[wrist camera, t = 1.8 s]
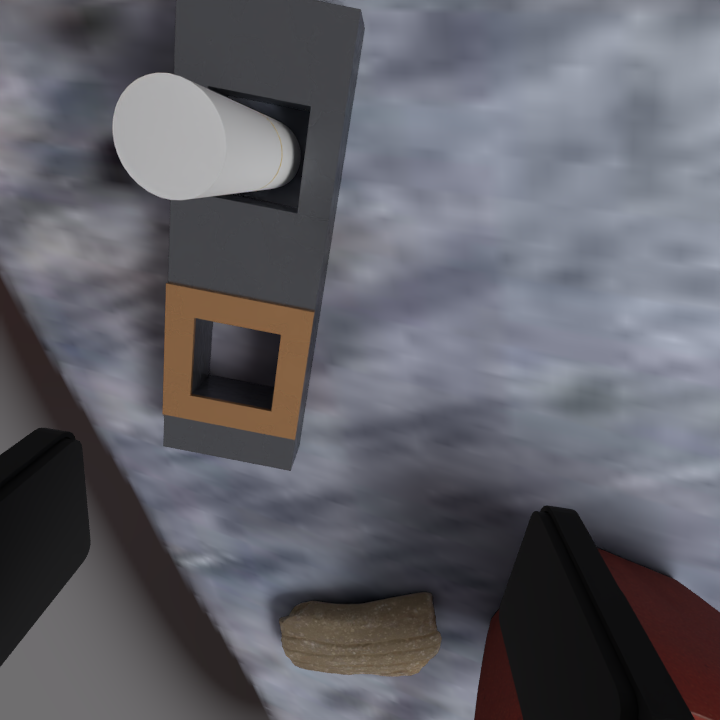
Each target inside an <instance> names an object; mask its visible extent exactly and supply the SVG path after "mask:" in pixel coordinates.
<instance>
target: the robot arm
mask: <svg viewBox="0 0 720 720" xmlns="http://www.w3.org/2000/svg"><path fill="white" fill-rule="evenodd" d="M89 549H90V530H89V519H88V508H87V497H86V486H85V474H84V463H83V452H82V445H81V443H80V441H78V440H75V436H74V435H73V434H72V433H71V432H67V431H61V430H55V429H48V428H38V429H37V430H34V431H33V432H32V433H30V434H29V435H27V436H26V437H25V438H23V439H22V440H21V441H19V442H18V443H16V444H15V445H14V446H13V447H11V448H10V449H8V450H7V451H5V452H4V453H2V454H1V455H0V666H1V665H2V664H3V662H4V661H5V660H6V659H7V658H8V656H9V655H10V654H11V653H12V651H13V650H14V649H15V648H16V646H17V645H18V643H19V642H20V641H21V640H22V639H23V637H24V636H25V635H26V634H27V632H28V631H29V630H30V628H31V627H32V626H33V625H34V623H35V622H36V621H37V620H38V618H39V617H40V616H41V615H42V613H43V612H44V611H45V610H46V608H47V607H48V606H49V605H50V603H51V602H52V600H53V599H54V598H55V597H56V596H57V594H58V593H59V592H60V591H61V589H62V588H63V587H64V585H65V584H66V583H67V582H68V580H69V579H70V578H71V577H72V575H73V574H74V573H75V572H76V570H77V569H78V568H79V567H80V565H81V564H82V563H83V561H84V560H85V558H86V557H87V554H88V552H89ZM499 623H500V628H501V632H502V636H503V640H504V644H505V648H506V652H507V656H508V660H509V664H510V669H511V673H512V677H513V681H514V685H515V689H516V693H517V697H518V701H519V705H520V709H521V713H522V717H523V720H695V719H694V717H693V715H692V713H691V712H690V710H689V708H688V706H687V705H686V703H685V701H684V699H683V697H682V696H681V694H680V692H679V690H678V689H677V687H676V685H675V683H674V681H673V680H672V678H671V676H670V674H669V673H668V671H667V669H666V667H665V666H664V664H663V662H662V660H661V658H660V657H659V655H658V653H657V651H656V650H655V648H654V646H653V644H652V642H651V641H650V639H649V637H648V635H647V634H646V632H645V630H644V628H643V627H642V625H641V623H640V621H639V619H638V618H637V616H636V614H635V612H634V611H633V609H632V607H631V605H630V604H629V602H628V600H627V598H626V596H625V595H624V594H623V592H622V591H621V590H620V588H619V586H618V585H617V583H616V581H615V579H614V577H613V576H612V574H611V572H610V570H609V569H608V567H607V565H606V563H605V561H604V560H603V558H602V556H601V554H600V552H599V551H598V549H597V547H596V545H595V544H594V542H593V540H592V538H591V536H590V535H589V533H588V531H587V529H586V528H585V526H584V524H583V522H582V520H581V519H580V517H579V515H578V514H577V512H576V511H574V510H572V509H566V508H559V507H553V506H544V507H543V508H542V509H541V511H540V512H538V511H535V512H533V514H532V516H531V518H530V521H529V524H528V527H527V529H526V532H525V535H524V538H523V541H522V544H521V547H520V550H519V552H518V555H517V558H516V561H515V564H514V567H513V570H512V573H511V576H510V578H509V581H508V584H507V587H506V590H505V593H504V596H503V599H502V602H501V604H500V609H499Z"/></svg>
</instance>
